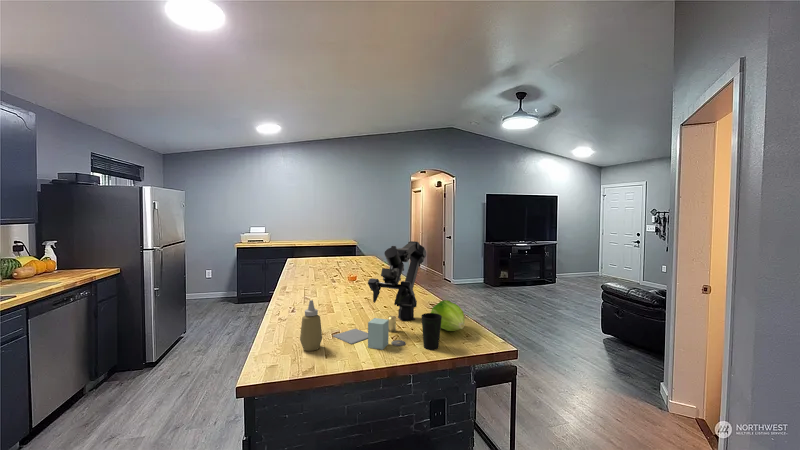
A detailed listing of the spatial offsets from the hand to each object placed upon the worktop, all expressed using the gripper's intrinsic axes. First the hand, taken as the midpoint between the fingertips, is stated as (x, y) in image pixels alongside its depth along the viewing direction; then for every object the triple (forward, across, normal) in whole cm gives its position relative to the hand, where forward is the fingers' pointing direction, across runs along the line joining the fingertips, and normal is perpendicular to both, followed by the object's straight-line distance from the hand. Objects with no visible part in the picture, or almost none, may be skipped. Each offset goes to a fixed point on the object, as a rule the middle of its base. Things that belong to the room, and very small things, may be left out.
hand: (384, 303), depth 139 cm
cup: (+11, +20, +9) cm, 25 cm away
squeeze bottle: (+24, -21, -3) cm, 32 cm away
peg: (+3, 0, +16) cm, 17 cm away
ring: (+12, +8, +8) cm, 16 cm away
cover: (+16, +1, +5) cm, 16 cm away
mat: (+12, -12, +8) cm, 19 cm away
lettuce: (-3, +23, +23) cm, 33 cm away
